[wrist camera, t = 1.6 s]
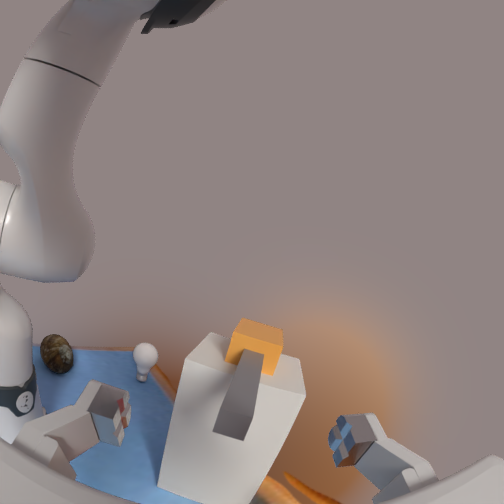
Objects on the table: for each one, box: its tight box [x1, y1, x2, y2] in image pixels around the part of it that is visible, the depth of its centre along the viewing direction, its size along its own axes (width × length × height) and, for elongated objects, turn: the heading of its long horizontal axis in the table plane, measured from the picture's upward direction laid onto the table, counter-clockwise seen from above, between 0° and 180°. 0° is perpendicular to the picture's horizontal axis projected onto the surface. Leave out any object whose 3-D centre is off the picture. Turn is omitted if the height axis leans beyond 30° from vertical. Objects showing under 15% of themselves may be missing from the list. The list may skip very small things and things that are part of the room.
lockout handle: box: [212, 318, 283, 441], centre depth 28 cm, size 6×22×4 cm, turn 174°
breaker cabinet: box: [157, 332, 306, 504], centre depth 34 cm, size 14×13×26 cm
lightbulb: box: [133, 343, 158, 382], centre depth 60 cm, size 6×6×11 cm
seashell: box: [40, 334, 73, 373], centre depth 49 cm, size 11×9×8 cm
